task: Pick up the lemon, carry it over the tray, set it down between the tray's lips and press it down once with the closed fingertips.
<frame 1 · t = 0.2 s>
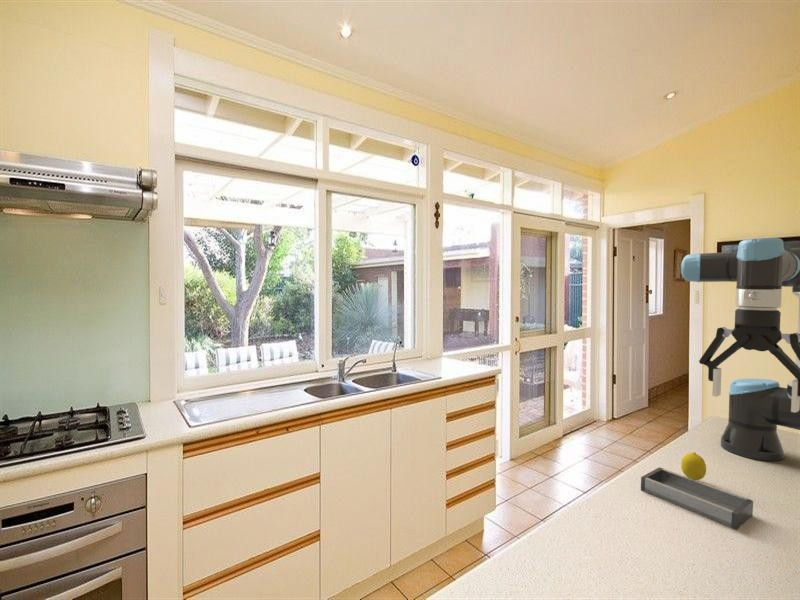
hand: (753, 402, 89), 27 cm above the counter, fingers open, 13 cm apart
tray: (693, 502, 98), on the counter
lemon: (692, 481, 109), on the counter
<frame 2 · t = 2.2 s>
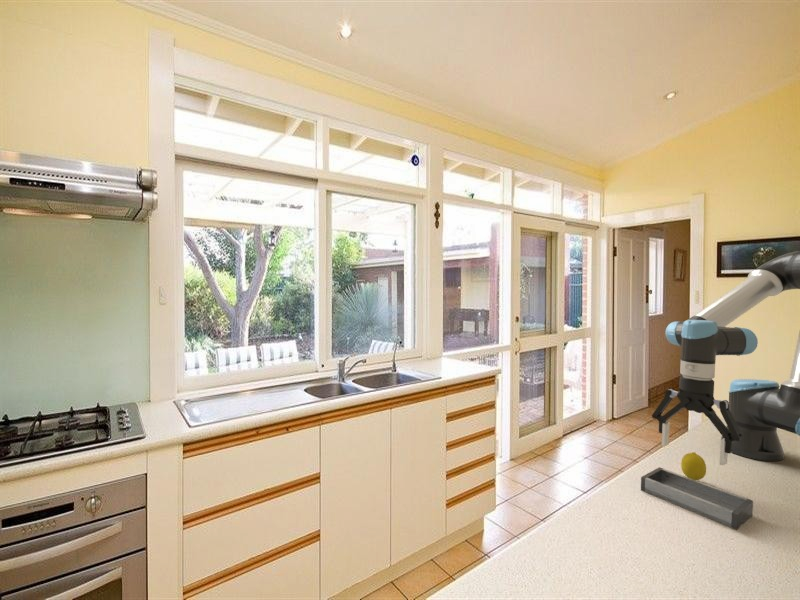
hand: (692, 454, 108), 8 cm above the counter, fingers open, 13 cm apart
nothing on the counter moved.
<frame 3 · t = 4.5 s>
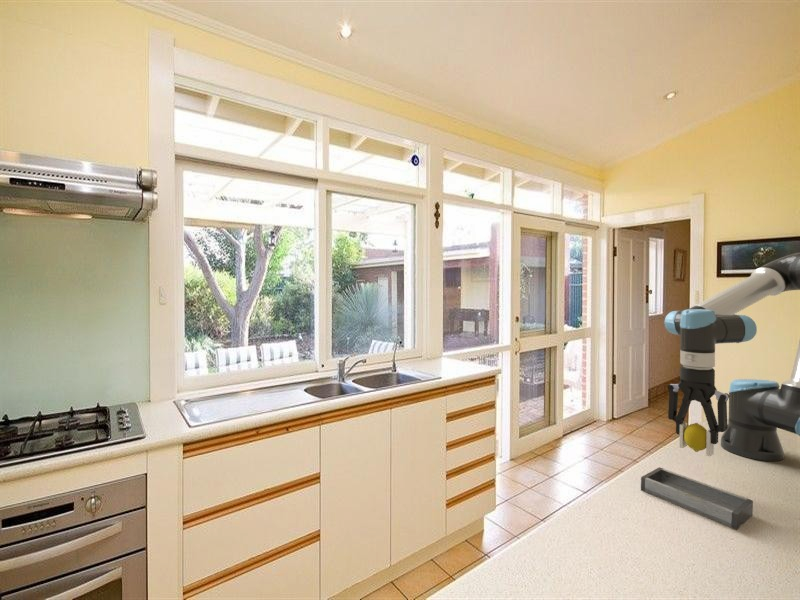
hand: (696, 450, 108), 9 cm above the counter, fingers closed on lemon, 5 cm apart
lemon: (696, 452, 108), point 8 cm above the counter, touching gripper
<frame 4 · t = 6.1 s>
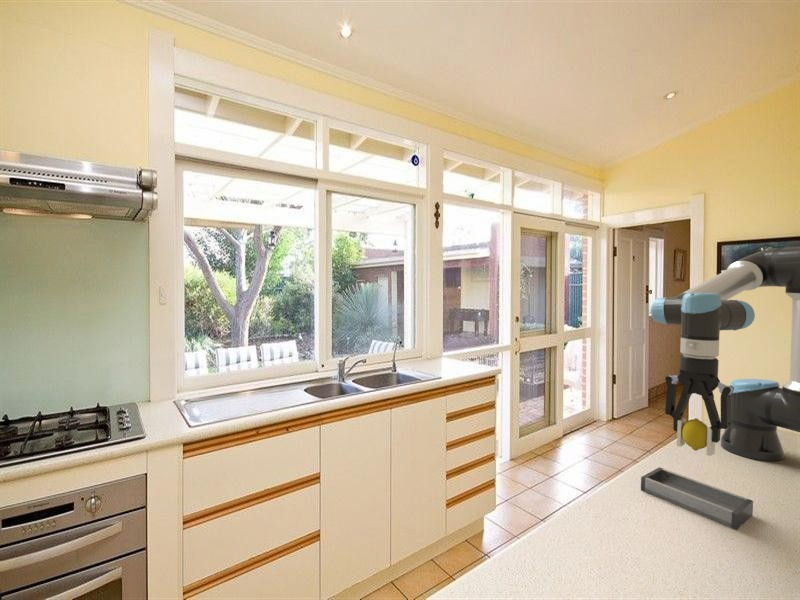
hand: (695, 449, 98), 13 cm above the counter, fingers closed on lemon, 5 cm apart
lemon: (695, 451, 98), point 13 cm above the counter, touching gripper
when the fingers open (2 cm above the counter, at t = 8.2 s): lemon stays where it is, resting on tray.
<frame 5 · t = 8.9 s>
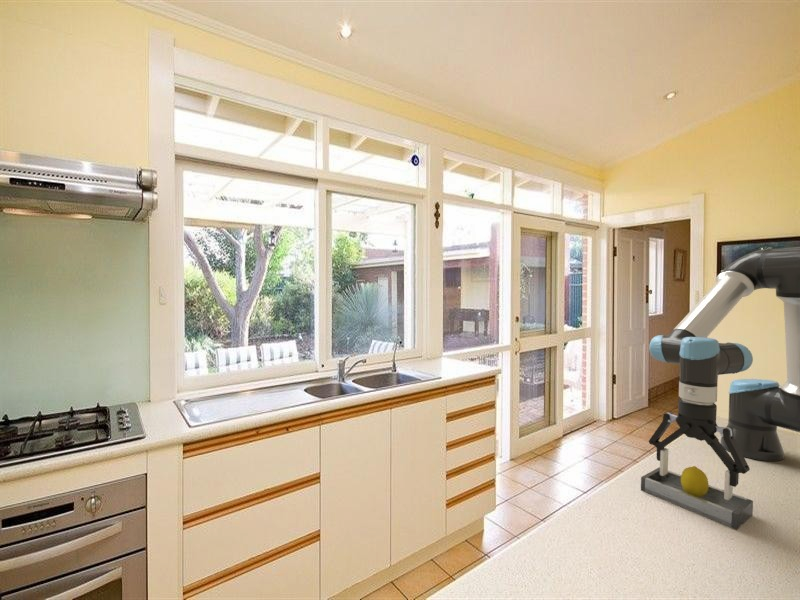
hand: (694, 485, 98), 4 cm above the counter, fingers open, 13 cm apart
lemon: (693, 498, 98), point 1 cm above the counter, touching tray
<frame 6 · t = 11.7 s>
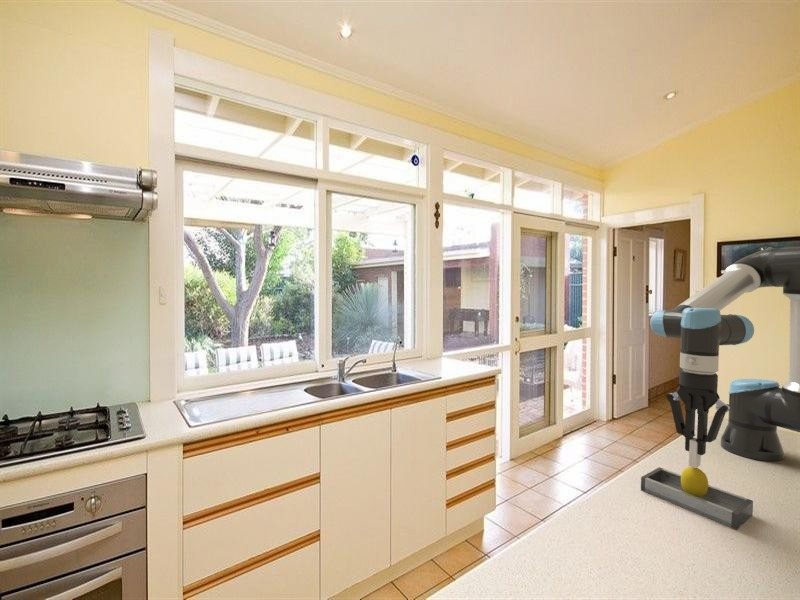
hand: (694, 465, 98), 9 cm above the counter, fingers closed
lemon: (693, 498, 98), point 1 cm above the counter, touching gripper, tray
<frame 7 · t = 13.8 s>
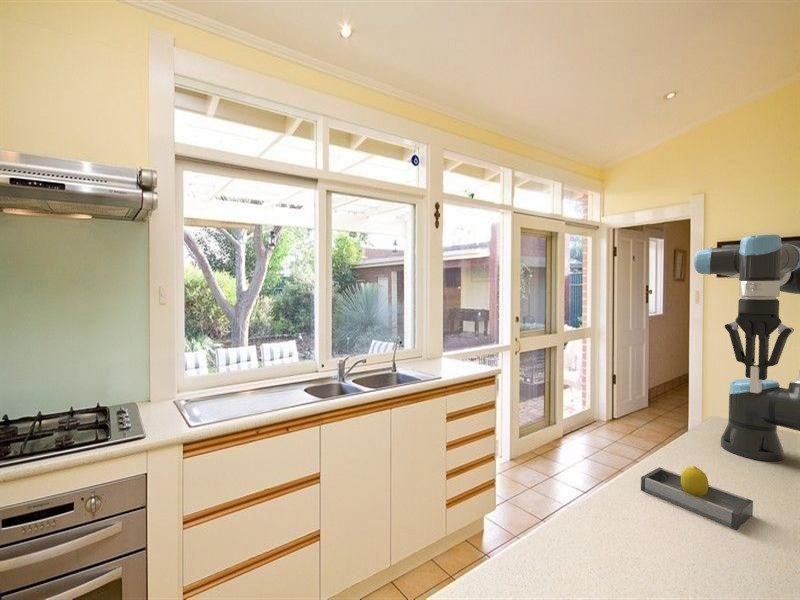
hand: (755, 391, 99), 27 cm above the counter, fingers closed
lemon: (693, 498, 98), point 1 cm above the counter, touching tray
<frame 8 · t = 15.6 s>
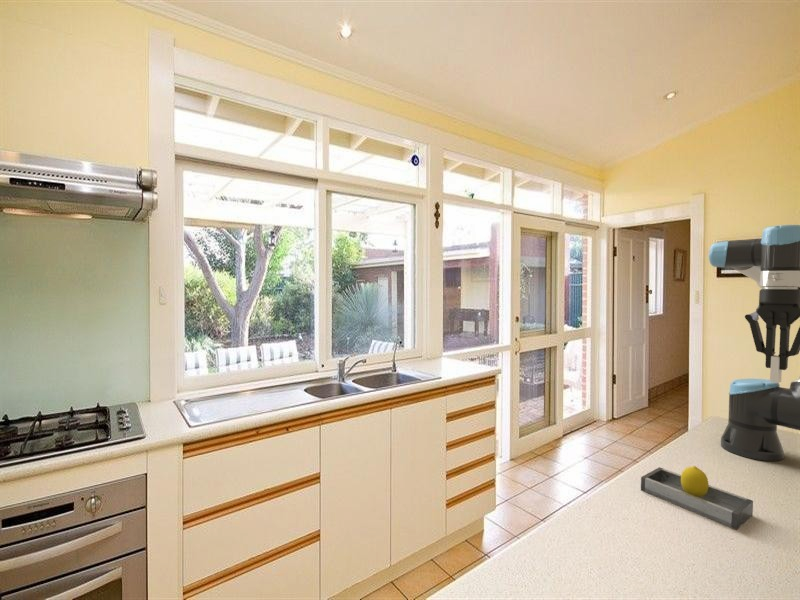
hand: (775, 381, 100), 29 cm above the counter, fingers closed
nothing on the counter moved.
at the end: lemon inside the target area on the tray (0.1 cm from its centre), point 0.8 cm above the tray's base; the gripper is holding nothing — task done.
